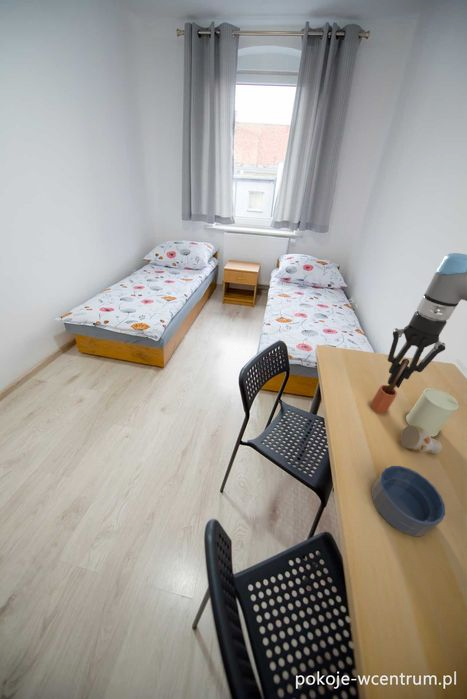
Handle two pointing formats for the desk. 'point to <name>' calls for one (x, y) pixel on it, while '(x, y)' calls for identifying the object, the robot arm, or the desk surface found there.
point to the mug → (419, 440)
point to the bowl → (408, 501)
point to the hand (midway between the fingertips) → (393, 383)
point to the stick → (397, 376)
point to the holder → (383, 400)
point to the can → (432, 411)
